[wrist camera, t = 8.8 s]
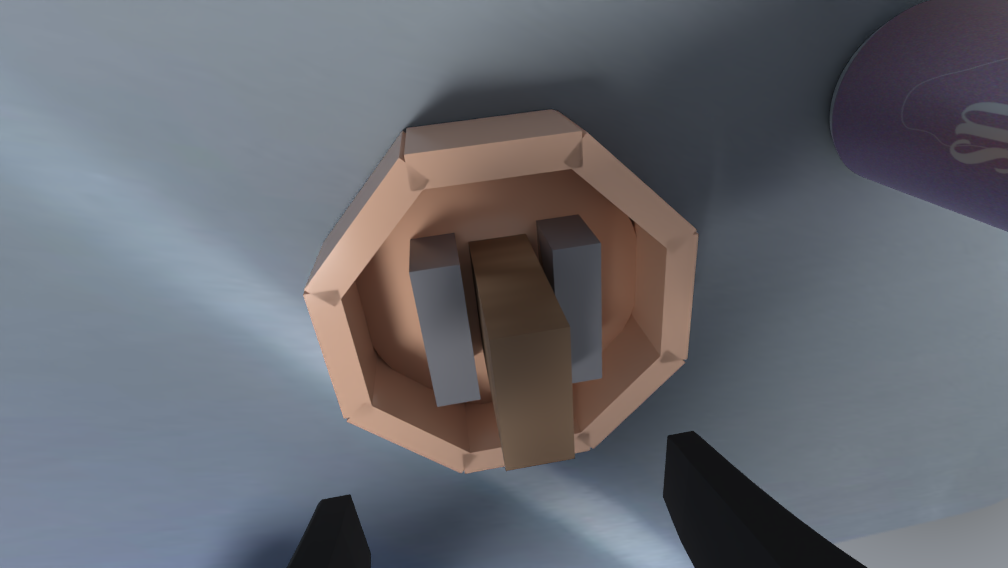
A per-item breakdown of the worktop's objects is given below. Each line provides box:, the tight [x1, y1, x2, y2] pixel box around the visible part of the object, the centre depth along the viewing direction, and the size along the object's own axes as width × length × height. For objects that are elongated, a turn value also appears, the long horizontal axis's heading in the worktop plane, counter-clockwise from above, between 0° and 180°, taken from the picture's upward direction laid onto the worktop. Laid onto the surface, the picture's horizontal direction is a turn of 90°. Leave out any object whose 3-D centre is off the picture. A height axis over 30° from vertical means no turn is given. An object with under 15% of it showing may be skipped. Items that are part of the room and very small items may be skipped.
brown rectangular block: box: [468, 234, 575, 471], centre depth 16 cm, size 2×4×6 cm, turn 6°
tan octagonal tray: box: [303, 109, 699, 474], centre depth 18 cm, size 12×12×4 cm
